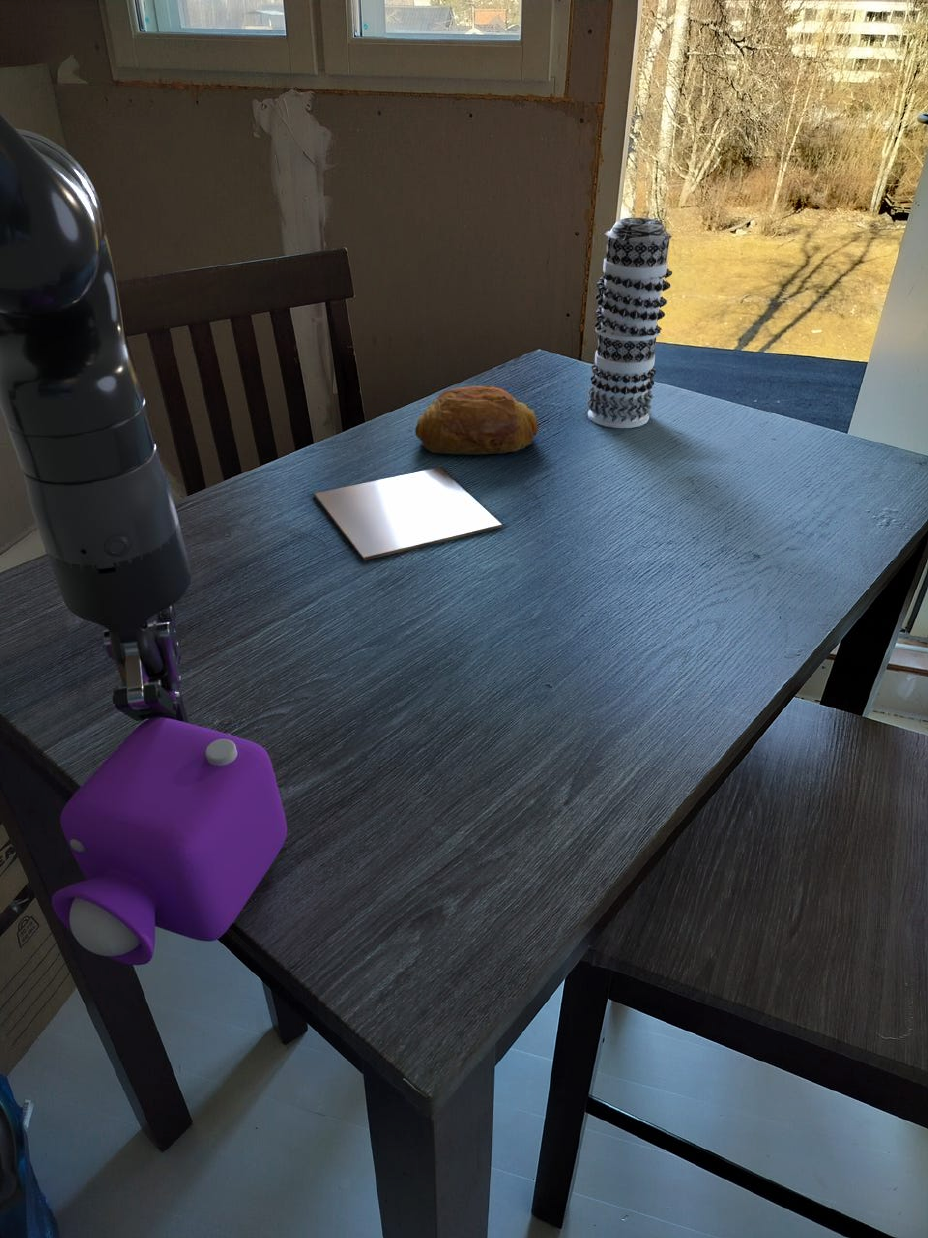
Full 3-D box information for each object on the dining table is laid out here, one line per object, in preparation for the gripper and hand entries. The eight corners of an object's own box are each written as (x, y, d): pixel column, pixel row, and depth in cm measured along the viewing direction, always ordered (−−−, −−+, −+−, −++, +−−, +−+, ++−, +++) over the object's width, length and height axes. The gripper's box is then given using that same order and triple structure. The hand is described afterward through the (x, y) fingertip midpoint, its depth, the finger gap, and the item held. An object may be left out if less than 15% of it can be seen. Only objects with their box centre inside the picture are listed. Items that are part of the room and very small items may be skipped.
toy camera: (50, 983, 49) (-16, 880, 43) (156, 800, 60) (115, 696, 54) (225, 1011, 48) (182, 908, 41) (302, 817, 58) (278, 712, 52)
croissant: (534, 478, 107) (547, 418, 102) (411, 461, 106) (418, 400, 101) (528, 429, 119) (539, 374, 114) (417, 414, 117) (423, 357, 112)
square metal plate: (363, 561, 86) (363, 557, 86) (314, 496, 98) (314, 493, 98) (502, 527, 92) (502, 524, 92) (439, 470, 104) (439, 466, 104)
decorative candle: (662, 426, 115) (691, 226, 101) (598, 431, 114) (618, 229, 99) (637, 402, 123) (661, 212, 108) (576, 406, 121) (592, 215, 107)
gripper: (60, 479, 54) (127, 683, 65) (20, 597, 44) (107, 817, 54) (182, 467, 55) (228, 669, 66) (170, 579, 45) (227, 797, 56)
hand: (173, 736), depth 60 cm, fingers closed
